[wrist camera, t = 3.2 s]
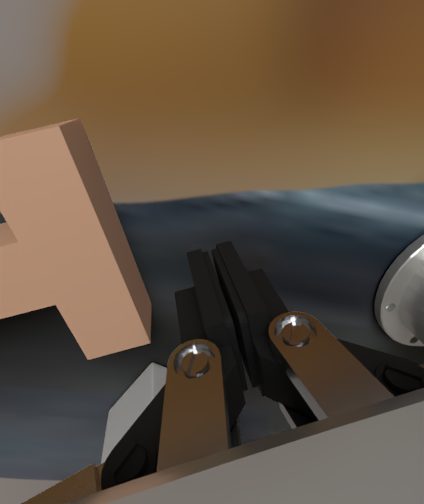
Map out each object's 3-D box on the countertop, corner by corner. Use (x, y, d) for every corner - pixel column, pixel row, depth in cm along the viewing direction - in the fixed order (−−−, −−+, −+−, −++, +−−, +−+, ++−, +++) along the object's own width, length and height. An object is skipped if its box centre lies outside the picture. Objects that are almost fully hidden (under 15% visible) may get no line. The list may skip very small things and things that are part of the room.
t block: (80, 118, 16) (58, 126, 13) (151, 304, 23) (150, 343, 19) (-149, 171, 16) (-236, 194, 12) (-10, 345, 22) (-41, 393, 19)
